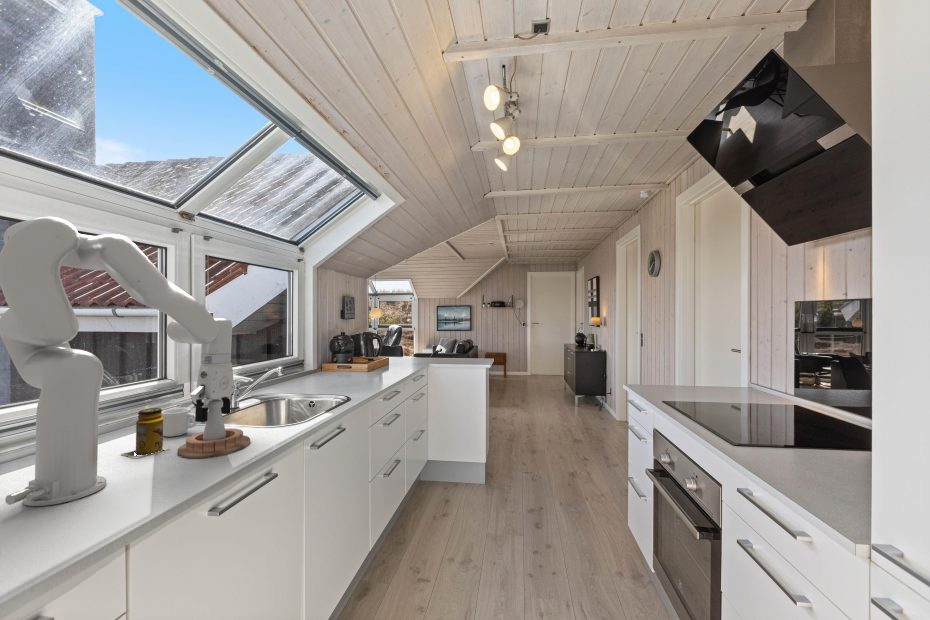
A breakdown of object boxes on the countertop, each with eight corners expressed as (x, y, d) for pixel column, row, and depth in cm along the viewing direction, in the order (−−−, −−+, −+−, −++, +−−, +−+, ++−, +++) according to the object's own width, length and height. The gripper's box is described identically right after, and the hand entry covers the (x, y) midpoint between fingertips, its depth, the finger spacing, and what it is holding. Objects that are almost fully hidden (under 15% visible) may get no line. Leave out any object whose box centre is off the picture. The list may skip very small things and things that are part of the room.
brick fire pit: (224, 459, 104) (224, 446, 104) (160, 457, 104) (160, 445, 104) (262, 438, 122) (262, 427, 122) (207, 437, 122) (208, 426, 122)
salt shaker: (216, 447, 110) (216, 403, 109) (197, 447, 110) (197, 402, 110) (230, 440, 115) (230, 398, 115) (212, 440, 116) (212, 397, 116)
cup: (204, 430, 129) (204, 407, 129) (189, 438, 121) (189, 413, 121) (171, 431, 128) (171, 407, 129) (153, 438, 120) (154, 413, 121)
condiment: (169, 449, 111) (170, 408, 111) (135, 459, 103) (136, 415, 104) (155, 445, 114) (155, 405, 114) (120, 455, 106) (121, 412, 106)
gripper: (207, 362, 104) (204, 425, 104) (246, 357, 122) (243, 411, 121) (181, 362, 105) (177, 424, 104) (223, 357, 122) (221, 410, 121)
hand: (213, 417), depth 112 cm, fingers open, 9 cm apart
